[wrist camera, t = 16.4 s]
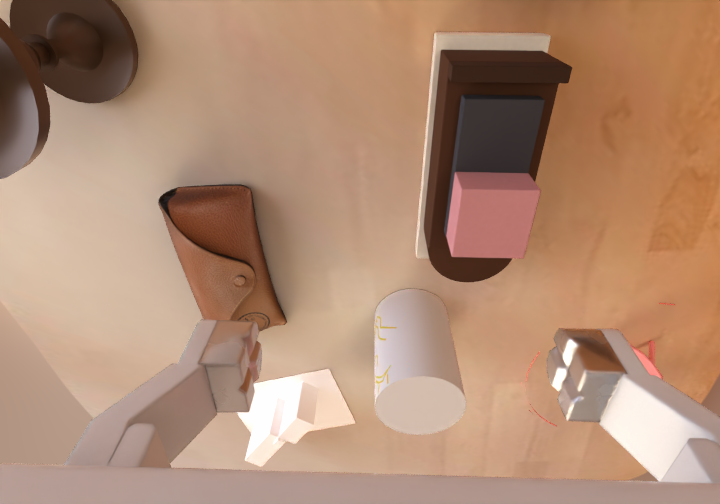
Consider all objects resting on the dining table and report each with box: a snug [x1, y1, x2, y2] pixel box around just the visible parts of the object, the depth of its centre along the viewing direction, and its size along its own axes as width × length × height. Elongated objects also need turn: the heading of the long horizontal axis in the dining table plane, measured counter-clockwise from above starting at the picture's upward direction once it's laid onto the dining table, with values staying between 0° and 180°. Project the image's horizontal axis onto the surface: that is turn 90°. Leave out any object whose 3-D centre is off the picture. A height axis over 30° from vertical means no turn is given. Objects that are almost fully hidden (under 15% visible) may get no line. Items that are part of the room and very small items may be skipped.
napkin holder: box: [236, 369, 356, 467], centre depth 57 cm, size 15×11×6 cm
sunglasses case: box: [158, 185, 287, 331], centre depth 45 cm, size 18×7×7 cm, turn 8°
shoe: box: [415, 32, 572, 282], centre depth 37 cm, size 20×8×8 cm, turn 0°
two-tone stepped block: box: [444, 95, 545, 258], centre depth 32 cm, size 11×5×4 cm, turn 179°
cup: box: [375, 289, 466, 435], centre depth 45 cm, size 8×8×12 cm
